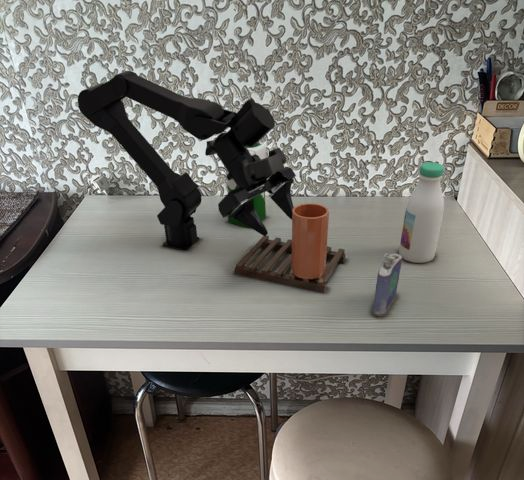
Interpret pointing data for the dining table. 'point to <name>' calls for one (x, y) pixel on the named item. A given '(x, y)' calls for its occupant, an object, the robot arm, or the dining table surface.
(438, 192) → the milk bottle
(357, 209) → the dining table surface
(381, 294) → the flask
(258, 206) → the milk carton
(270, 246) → the drying rack
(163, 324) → the dining table surface
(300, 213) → the tumbler
